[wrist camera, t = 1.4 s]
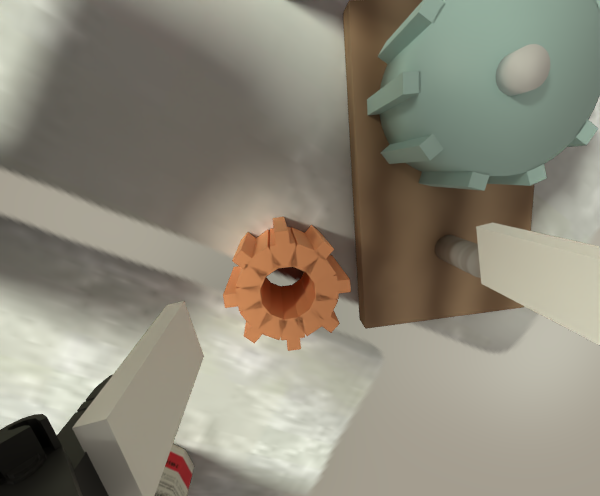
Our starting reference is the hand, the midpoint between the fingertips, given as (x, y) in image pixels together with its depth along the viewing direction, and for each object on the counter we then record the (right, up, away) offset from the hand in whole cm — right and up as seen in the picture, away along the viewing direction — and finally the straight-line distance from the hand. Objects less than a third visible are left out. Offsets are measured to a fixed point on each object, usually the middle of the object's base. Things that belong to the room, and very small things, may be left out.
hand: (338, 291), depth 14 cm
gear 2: (+11, +14, +12) cm, 21 cm away
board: (+11, +9, +15) cm, 21 cm away
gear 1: (-3, 0, +16) cm, 16 cm away
